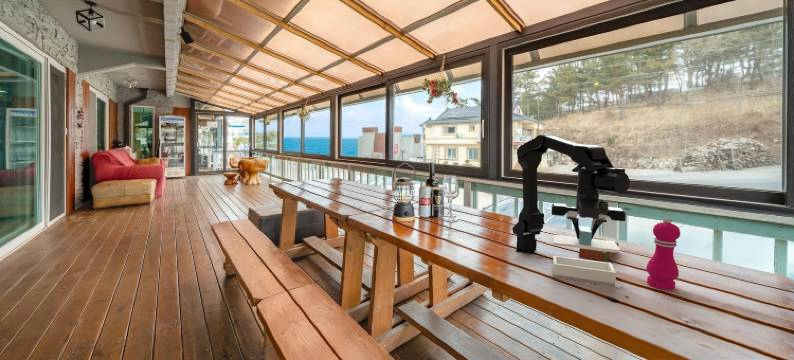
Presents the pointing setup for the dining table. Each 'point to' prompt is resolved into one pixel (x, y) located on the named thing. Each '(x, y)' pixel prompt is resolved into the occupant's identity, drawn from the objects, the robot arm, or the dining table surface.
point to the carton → (596, 254)
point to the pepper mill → (663, 256)
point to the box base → (584, 270)
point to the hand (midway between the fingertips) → (584, 239)
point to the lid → (585, 241)
